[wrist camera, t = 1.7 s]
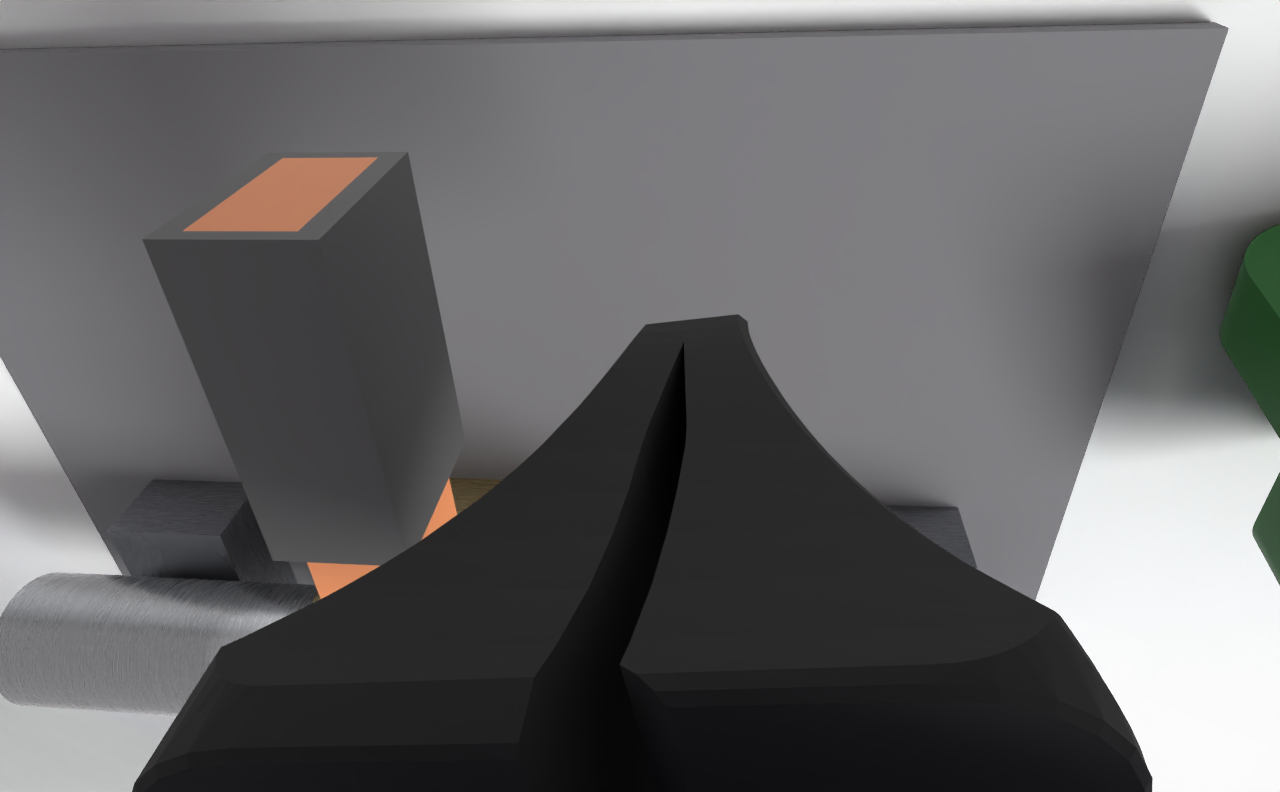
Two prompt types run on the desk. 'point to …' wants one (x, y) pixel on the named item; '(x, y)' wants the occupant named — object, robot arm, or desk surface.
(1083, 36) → the pipe mat
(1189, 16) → the desk surface
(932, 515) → the pipe and valve
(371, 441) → the lever
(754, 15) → the desk surface
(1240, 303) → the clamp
